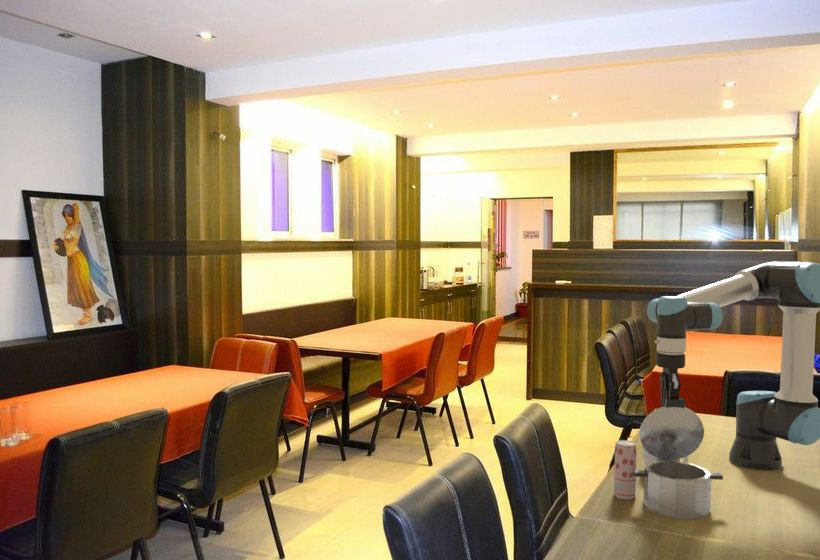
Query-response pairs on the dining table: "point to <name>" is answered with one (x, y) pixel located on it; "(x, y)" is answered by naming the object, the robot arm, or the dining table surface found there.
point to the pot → (677, 489)
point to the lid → (671, 431)
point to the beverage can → (625, 469)
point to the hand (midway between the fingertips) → (668, 437)
